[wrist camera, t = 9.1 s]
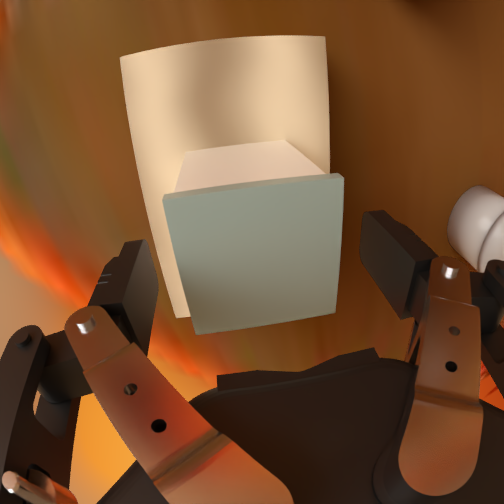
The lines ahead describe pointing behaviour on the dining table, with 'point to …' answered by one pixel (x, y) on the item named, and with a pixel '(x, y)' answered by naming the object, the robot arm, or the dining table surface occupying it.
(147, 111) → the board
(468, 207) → the sugar bowl
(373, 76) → the dining table surface
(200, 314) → the green and cream block
